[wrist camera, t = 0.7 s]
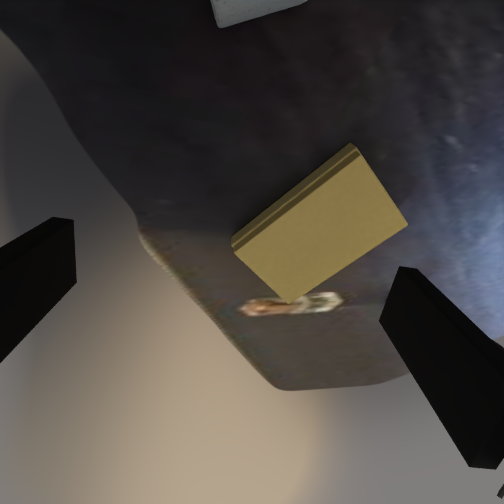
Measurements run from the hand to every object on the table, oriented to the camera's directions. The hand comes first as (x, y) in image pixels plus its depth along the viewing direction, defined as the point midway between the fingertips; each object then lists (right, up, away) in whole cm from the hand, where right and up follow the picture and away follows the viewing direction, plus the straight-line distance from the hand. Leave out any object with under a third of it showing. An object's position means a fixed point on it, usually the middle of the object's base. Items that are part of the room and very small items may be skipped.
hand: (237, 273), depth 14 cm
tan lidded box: (+7, +4, +24) cm, 26 cm away
